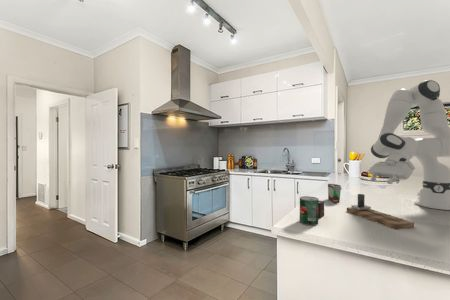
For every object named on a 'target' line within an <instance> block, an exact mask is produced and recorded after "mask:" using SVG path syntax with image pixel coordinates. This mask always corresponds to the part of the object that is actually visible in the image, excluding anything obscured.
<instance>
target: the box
mask: <svg viewBox="0 0 450 300" xmlns="http://www.w3.org/2000/svg"><path fill="white" fill-rule="evenodd" d="M323 217H325V201H324V200H320V199H319V200H318V219H322V218H323Z"/></svg>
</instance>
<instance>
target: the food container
mask: <svg viewBox="0 0 450 300" xmlns="http://www.w3.org/2000/svg"><path fill="white" fill-rule="evenodd" d="M342 190H343V188H342V185H340V184H335V183H328V184H327V196H328V197H327V199H328V200H329V201H330V202H331V203H332V204H339V203H340V202H341V201H340V199H341V191H342Z"/></svg>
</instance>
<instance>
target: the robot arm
mask: <svg viewBox="0 0 450 300" xmlns="http://www.w3.org/2000/svg"><path fill="white" fill-rule="evenodd" d="M440 92H441V87H440V84H439V83H438V82H437V81H435V80H432V79H426V80H423V81H421V82H420V83H418V84H416V85H414V86H413V87H410V88H409V89H407V88H400V89H397V90H395V91H394V92H393V93H392V95H391V97H390V99H389V101H388V103H387V106H386V110H385V113H384V114H385V116H384V119H383V124H382V127H381V130H380V133H379V136H378V138H377V140H376V142H374V143H373V145H371V148H370V152H371V154H372V155H373V156H374V157H375V158H378V159H385V160H384V161H379V162H375V163H374V164H373V165H372V166H371V167H370V168H369V169H368V173H370V174H371V178H370V180H371V182H376V181H377V177H381V178H382V177H383V178H389V179H387V180H386V183H387V184H389V185H393V183H395V182H397V181H398V180H404V181H405V180H408V179H409V178H410V177H411V176H412V174H413V172H414V171H415V170H416V166H415V165H414V164H413V163H412V162H411V159H413V158H414V157H415V158H416V159H417V160H418V161H419V162H420V164H421V166H422V170H423V180H422V188H421V189H420V190H419V191H418V192H417V200H415V201H414V205H416V206H420V207H424V208H430V209H433V210H434V209H435V210H446V211H450V167H449V166H448V165H446V164H444V163H441V162H439V160H438V158H450V125H449V122H448V117H447V113H446V112H447V111H446V107H445V105H444V103H443V101H442V100H441V99H440V98H439V97H440V96H441V95H440V94H441V93H440ZM415 107H418V108H419V117H420V125H421V126H420V127H421V129H422V131H423V132H424V133H426V134H429V135H431V136H432V137H420V138H413V137H411V136H410V137H409V136H407V137H406V136H404V137H403V136H399V135H397V134H395V131H396V130H397V128H398V127H399V126H400V125H401V123H403V121H404V120H405V119H406V118H407V116H408V115H409V113H410V112H411V109H414V108H415Z"/></svg>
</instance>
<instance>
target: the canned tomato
mask: <svg viewBox="0 0 450 300" xmlns="http://www.w3.org/2000/svg"><path fill="white" fill-rule="evenodd" d="M318 200H320V199H319V198H318V197H315V196H309V195H308V196H307V195H306V196H299V223H300V224H302V225H303V226H310V227H313V226H314V227H315V226H318V225H319V218H318Z"/></svg>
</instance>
